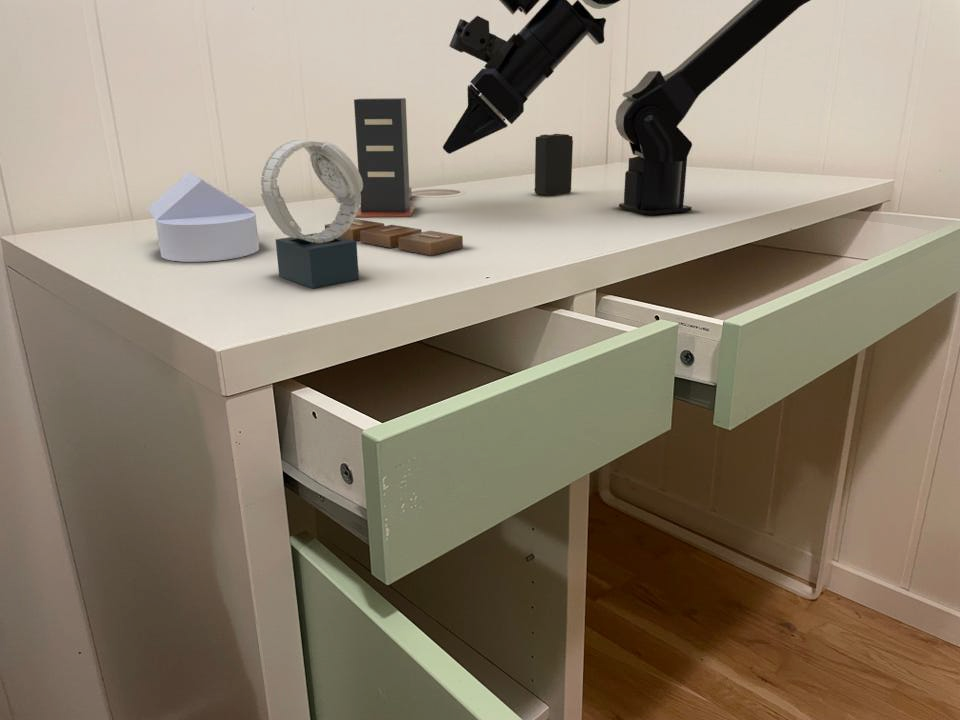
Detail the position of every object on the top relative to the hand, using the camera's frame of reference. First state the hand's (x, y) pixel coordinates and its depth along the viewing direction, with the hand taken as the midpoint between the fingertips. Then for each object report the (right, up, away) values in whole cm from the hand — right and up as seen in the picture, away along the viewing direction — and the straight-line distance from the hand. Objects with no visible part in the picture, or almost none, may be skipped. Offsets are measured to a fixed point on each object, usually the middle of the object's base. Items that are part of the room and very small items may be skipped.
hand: (447, 147), depth 93 cm
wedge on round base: (-23, -14, -16) cm, 32 cm away
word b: (-8, -5, +8) cm, 12 cm away
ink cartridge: (+14, -2, +16) cm, 22 cm away
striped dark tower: (-8, -7, +3) cm, 11 cm away
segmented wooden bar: (-5, -13, -14) cm, 20 cm away
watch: (-10, -19, -28) cm, 35 cm away
